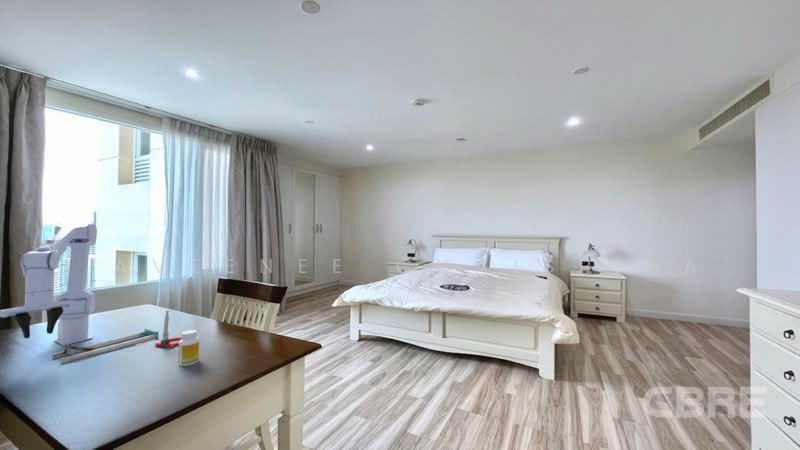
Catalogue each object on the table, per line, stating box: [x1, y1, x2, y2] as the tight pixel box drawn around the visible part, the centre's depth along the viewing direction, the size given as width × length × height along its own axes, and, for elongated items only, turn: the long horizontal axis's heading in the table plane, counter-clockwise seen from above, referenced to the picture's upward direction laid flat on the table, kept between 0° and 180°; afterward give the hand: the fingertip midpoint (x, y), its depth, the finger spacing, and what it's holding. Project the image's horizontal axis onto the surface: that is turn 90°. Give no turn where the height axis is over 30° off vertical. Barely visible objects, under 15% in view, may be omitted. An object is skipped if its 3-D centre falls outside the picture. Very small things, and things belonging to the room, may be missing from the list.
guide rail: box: [51, 327, 159, 365], centre depth 108 cm, size 10×26×2 cm, turn 153°
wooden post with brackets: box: [59, 343, 97, 359], centre depth 101 cm, size 2×8×4 cm, turn 140°
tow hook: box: [154, 310, 182, 349], centre depth 114 cm, size 8×13×9 cm
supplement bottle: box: [177, 329, 200, 367], centre depth 97 cm, size 5×5×10 cm
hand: (38, 335), depth 94 cm, fingers open, 4 cm apart
